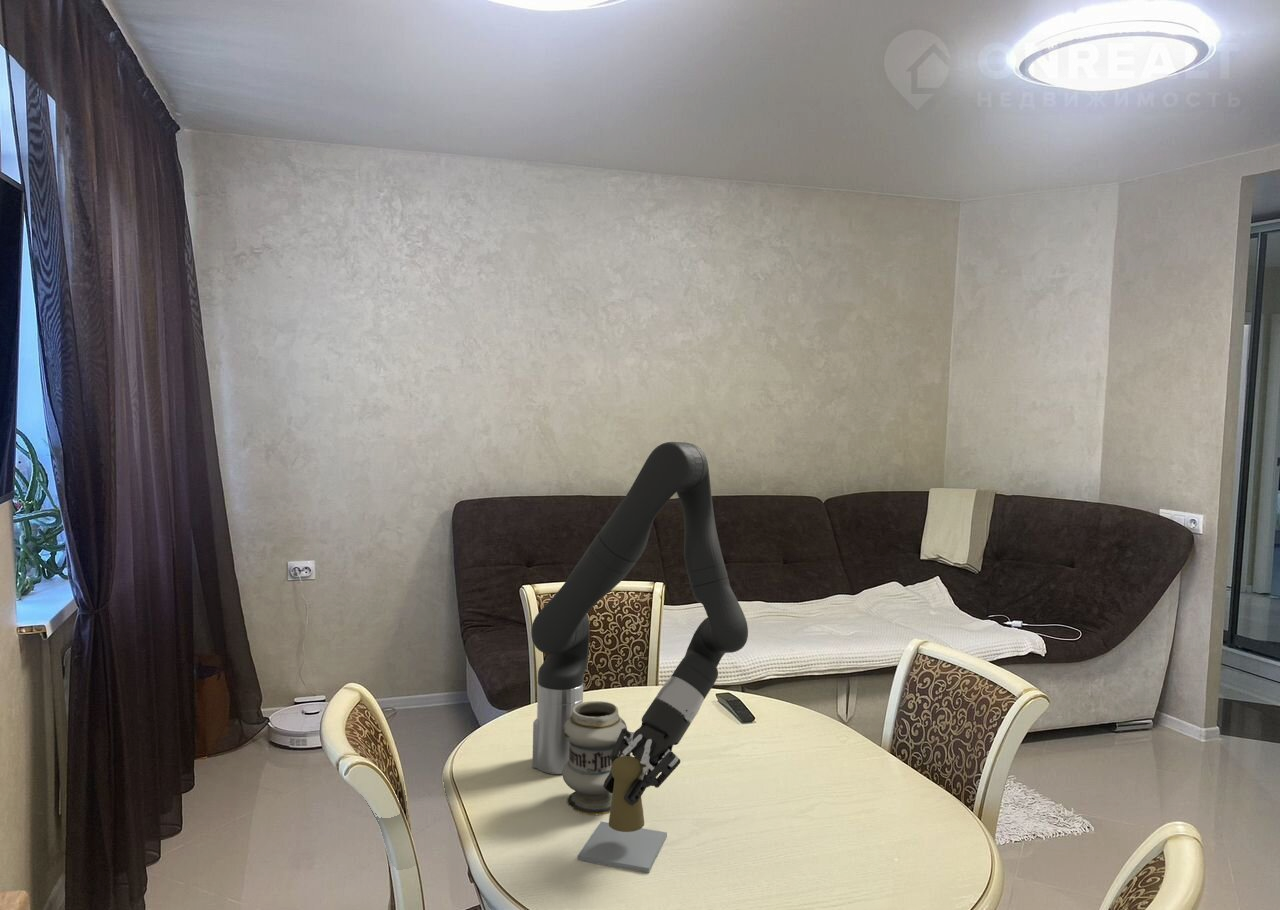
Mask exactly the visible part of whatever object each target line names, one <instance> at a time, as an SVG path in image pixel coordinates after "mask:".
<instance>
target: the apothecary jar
mask: <svg viewBox="0 0 1280 910" xmlns="http://www.w3.org/2000/svg"><path fill="white" fill-rule="evenodd" d="M624 728H626V729H627V730H628V726H627V723H626V722H625V720H624V719H623V718H622V717H621V716H620V714H619V708H618V707H617V705H615V704H614V703H611V702H608V701H601V700H599V701H598V700H592V701H591V700H590V701H583V703H580V704H578V705H576V706H575V707H574V708H573V712H572V716H571V717H570V718H569V719H568V720H567V721H566V723H565V724H564V728H563V732H564V735H565V737H566V739H567V740H568V741H569V760H568V761H567V763H566V764H565V765H564V768H563V771H562V774H561V775H562V779H563V781H564V783H565V784H566V785H567V786H568V787H569V788H570V789H571V790H572V791H573V792H571V794H570V795H569V796H568V797H567V805H568V806H569V807H572V810H573V811H574V810H575V812H577V813H579V814H584V815H591V816H595V815H596V814H598V816H599V814H601V815H606V814H610V813H609V812H610V809H611V802H612V794H613V793H610V792H608V791H607V790H606V789H605V788H604V787H603V785H604V782H605V780H606V778H607V777H608V776H609V774H610V772H611V767H612V763H613V762H612V760H611V759H610V755H611V753H612V750H613V748H614V746H615V744H616V742H617V739H618V737H619V735H620V733H621V731H622V729H624ZM619 754H620V751H619ZM619 754H618V757H619ZM605 813H606V814H605Z"/></svg>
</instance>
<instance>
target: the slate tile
mask: <svg viewBox="0 0 1280 910" xmlns="http://www.w3.org/2000/svg"><path fill="white" fill-rule="evenodd" d="M667 837H668V832H666V831H660V830H653V829H650V828H649V829H648V828H643V827H642V828H641V829H639V830H636V831H632V832H621V831H616V830H614V829H612V828H611V827H610V826H609V822H607V821H600V822H599V824H598V825H597V827H596V828H595V829H594V831H593V833H592V834H591V835H590V837H589V839H588V840H587V842H586V843H585V844H584V846H583V847H582V849H581V850H580V851H579V853H578V855H577V861H580V862H585V861H586V863H590V864H598V865H602V866H608V867H614V868H619V869H623V870H624V869H625V870H629V871H636V872H641V873H647V874H649V873H650V872H651V870H652V868H653V866H654V864H655V861H656V860H657V858H658V855H659V854H660V851H661V850H662V848H663V846H664V844H665V842H666V840H667Z"/></svg>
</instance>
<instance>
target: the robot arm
mask: <svg viewBox="0 0 1280 910" xmlns="http://www.w3.org/2000/svg"><path fill="white" fill-rule="evenodd" d="M707 459H708V458H707V456H706V454H705V452H704V451H703V450H702V449H701V448H700V446H698V445H696V444H694V443H692V442H691V443H690V442H685V441H684V442H680V441H666V442H664V443H661V444H659V445H657V446H656V447H655V448H654V449H653V450H652V451H651V453H650V454H649V455H648V456H647V459H645V462H644V463H643V465H642V467H641V469H640V471H639V472H638V474H637V476H636V478H635V480H634V481H633V483H632V486H631V487H630V489H629V490H628V491H627V493H626V495H625V496H624V498H623V499H622V501H621V502H620V503H619V504H618V505H617V507H616V508H615V510H614V511H613V513H611V516H610V517H609V519H608V520H607V521H606V522H605V524H604V525H603V526H602V528H601V529H600V530H599V532H598V533H597V534H596V536H595V537H594V539H593V540H592V541H591V543H590V544H589V546H588V547H587V549H586V550H585V551H584V553H583V555H582V557H581V558H580V559H579V560H578V562H577V564H576V565H575V567H574V568H573V569H572V571H571V572H570V574H569V576H568V577H567V579H566V580H565V582H564V583H563V585H562V586H561V587H560V588H559V589H558V591H557V592H556V593H555V594H554V595H553V597H552V598H550V600H549V601H548V602H547V603H546V604H545V605H544V606H543V608H541V610H539V612H538V613H537V614H536V615H535V618H534V620H533V621H532V625H531V633H530V634H531V640H532V643H533V644H534V646H535V648H536V649H537V650H538V651H540V652H541V653H543V654H546V658H545V659H544V661H543V662H542V664H541V665H540V666H539V668H538V671H537V704H536V705H537V708H536V709H537V710H536V719H534V721H532V723H533V724H532V762H531V763H532V764H531V765H532V768H535V769H537V770H539V771H540V772H543V773H547V774H550V775H551V774H552V775H562V771H563V768H564V765H565V764H566V763H567V761H568V760H569V741H568V740H567V739H566V737H565V735H564V732H563V728H564V724H565V723H566V721H567V720H568V719H569V718H570V717H571V716H572V712H573V708H574V707H575V706H576V705H578V704H580V703H583V702H584V676H585V674H586V670H587V666H588V661H589V651H590V650H589V649H590V637H591V635H590V633H591V632H590V631H591V630H590V629H591V628H590V621H589V617H588V615H587V614H588V613H589V611H590V610H591V609H592V608H593V607H594V606H595V605H596V604H597V603H598V602H599V601H601V600H602V599H603V598H604V597H606V596H607V595H608V594H609V593H610V592H611V591H612V590H613V589H614V588H615V587H616V586H618V585H619V584H620V583H621V582H622V581H623V580H624V579H625V578H626V576H627V575H628V574H629V573H630V572H631V570H632V569H633V567H635V565H636V563H637V562H638V561H639V559H640V558H641V556H642V554H643V553H644V552H645V549H646V547H647V544H648V541H649V538H650V532H651V529H652V526H653V523H654V521H655V520H656V517H657V515H658V514H659V513H660V511H661V510H662V509H663V507H665V506H666V504H667V503H668V502H669V500H671V498H672V497H673V496H674V495H675V494H676V495H677V497H678V499H679V502H680V504H681V505H680V506H681V509H682V514H683V520H684V540H683V545H684V546H683V556H684V563H685V569H686V573H687V576H688V580H689V581H688V582H689V584H690V588H691V593H692V595H693V597H694V599H695V601H696V602H697V603H700V604H702V606H703V609H704V611H705V613H706V616H707V617H706V618H704V620H703V621H701V623H700V624H699V626H698V627H697V628H696V630H695V631H694V633H693V635H692V637H691V640H690V642H689V643H688V646H687V649H686V652H685V655H684V657H683V658H682V660H680V662H679V664H678V665H677V666H676V668H675V669H674V671H673V672H672V674H671V676H670V677H669V679H668V680H667V681H666V682H665V683H664V684H663V686H662V687H661V688H660V689H659V691H658V692H657V695H656V696H655V697H654V699H653V701H652V702H651V703H650V705H649V706H648V708H647V709H646V711H645V713H644V714H643V716H641V725H640V726H639V728H637V729H636V730H635V731H634V732H633V731H629V730H628V728H627V729H626V728H624V729H622V731H621V733H620V735H619V737H618V739H617V742H616V744H615V746H614V748H613V750H612V753H611V755H610V759H611V760H612V762H613V761H614V760H615V759H616V758H619V757H622V756H632V757H635V758H637V759H639V761H640V765H641V769H640V772H639V775H638V780H637V779H635V780H634V782H633V784H632V785H631V787H630V788H629V790H628V791H627V793H626V794H625V796H624V800H625V801H626V802H627V803H628V804H630V805H631V806H633V805H634V804H635V803H636V802H638V800H639V799H640V797H641V798H642V795H643V794H644V792H645V790H646V789H647V788H650V787H654V788H656V789H657V788H660V786H661V785H662V784H663V783H664V782H665V781H666V780H667V778H669V776H671V774H672V773H673V772H674V771H675V770H676V769H677V768H678V766H679V765H680V764H681V759H680V758H679V756H677V755H676V753H674V752H673V747H674V746H677V745H678V744H679V743H680V742H681V740H682V738H683V737H684V736H685V733H687V731H688V729H689V727H690V726H691V724H692V723H693V721H694V719H695V718H696V716H697V715H698V713H699V711H700V709H701V707H702V705H703V702H704V701H705V699H706V697H707V696H708V695H709V692H711V690H712V688H713V686H714V685H715V683H716V681H717V679H718V677H719V670H718V668H717V667H718V666H719V664H720V662H721V660H722V658H723V656H724V655H725V654H730V653H736V652H739V651H740V650H741V649H743V648H744V647H745V645H746V644H747V641H748V637H749V628H748V626H749V625H748V622H747V619H746V615H745V614H744V611H743V608H742V607H741V605H740V603H739V601H738V599H737V597H736V595H735V593H734V592H733V590H732V587H731V584H730V579H729V577H728V571H727V569H726V568H727V567H726V564H725V561H724V560H725V559H724V557H723V553H722V549H721V545H720V541H719V536H718V532H717V526H716V518H715V512H714V504H713V495H712V488H711V478H710V469H709V464H708V460H707ZM619 751H620V754H619ZM618 754H619V757H618ZM603 787H604V788H605V789H606V790H607V791H608V792H610V793H613V787H614V778H613V776H612V773H611V772H610V774H609V776H608V777H607V778H606V780H605V782H604V785H603Z"/></svg>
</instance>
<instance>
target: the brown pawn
mask: <svg viewBox="0 0 1280 910" xmlns="http://www.w3.org/2000/svg"><path fill="white" fill-rule="evenodd" d="M640 769H641V765H640V761H639V759H637V758H635V757H634V756H633V755H631V756H622V757H619V758H616V759H615V760H614V761H613V763H612V767H611V773H612V776H613V778H614V787H613V794H612V802H611V809H610V813H609V818H608V823H609V826H610V827H611V828H612V829H614V830H616V831H621V832H632V831H636V830H639V829H641V828H643V827H644V826H645V817H644V816H645V815H644V808H643V799H642V796H641V797H640V799H639V800H638V802H636V803H635V804H634V805H633V806H631V805H630V804H628V803H627V802H626V801H625V800H624V796H625V794H626V793H627V791H628V790H629V788H630V787H631V785H632V784H633V782H634V780H635V779H637V780H638V775H639V772H640Z"/></svg>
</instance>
